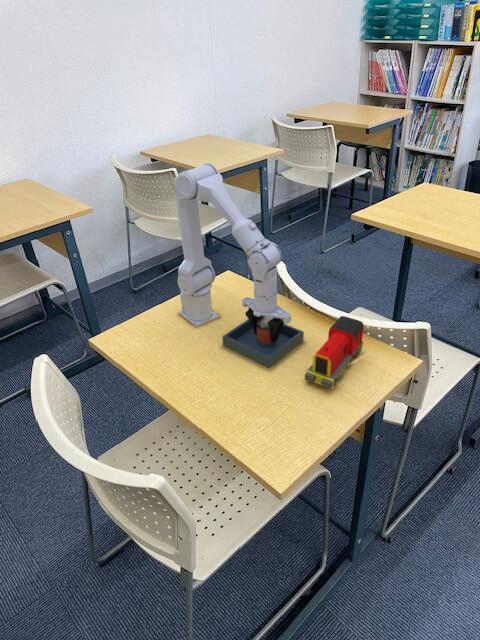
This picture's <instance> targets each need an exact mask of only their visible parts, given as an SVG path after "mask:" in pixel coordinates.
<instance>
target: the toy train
mask: <svg viewBox="0 0 480 640" xmlns="http://www.w3.org/2000/svg"><path fill="white" fill-rule="evenodd" d="M363 335H364V322H363V321H361V320H359V319H357V318H356V319H355V318H352V317H348V316H344V315H341V316H339V318H338V319H337V320H336V321H335V322H334V323H333V324H332V325H331V326H330V328H329V329H328V337H327V340H326V341H325V342H324V344H323V345H322V346H321V347H320V348H319V349H318V351H316V353H315V354H314V355H313V356H312V364H311V365H310V367H308V369H307V370H306V371H305V374H304V381H307V382H308V383H312V384H317V385H319V386H321V387H323V388H325V389H328V390H333V389H334V388H335V387H336V385H337V379H339V378H340V377H341V375H342V373H344V371H345V370H346V368H347V367H348V365H349V364H350V363H351V360H352V359H353V357H355V358H358V356H359V355H360V352H362V351H363V347H364V340H363Z"/></svg>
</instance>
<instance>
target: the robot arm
mask: <svg viewBox="0 0 480 640" xmlns="http://www.w3.org/2000/svg"><path fill="white" fill-rule="evenodd" d="M173 181H174V183H173V184H174V189H175V191H174V192H175V194H174V195H175V196H174V197H175V205H176V210H177V219H178V225H179V232H180V238H181V246H182V253H183V258H184V259H183V261H182V263H181V264H180V266H179V268H178V269H177V272H178V276H177V287H178V288H179V290H180V293H179V296H180V297H179V298H180V304H181V305H180V306H181V311H179V315H181V316H182V317H183V318H184V319H186V320H187V321H188V322H190V323H191V324H192V325H194V326H199V325H201V324H204V323H206V322H208V321H210V320H213V319H216V318H218V317H219V314H218V313H216V312H215V311H213V303H212V292H211V289H212V287H213V283H214V282H215V280H216V273H215V270H214V267H213V266H212V260H210V259H209V258H207V257H206V256H205V251H204V242H203V234H202V227H201V218H200V211H199V202H203V203H211V204H212V206H213V207H214V208H215V209H216V210H217V211H218V212H219V214H220V215H221V216H222V217H223V218H224V219H225V220H226V221H227V223H228V224H229V225H230V227H231V235H232V236H233V238H234V239H235V240H236V242H237V243H238V244H239V247H240V248H241V249H242V250H243V251H244V253H245V254H246V255H247V257H248V259H247V264H248V267H249V269H250V271H251V276H252V277H253V298H252V297H248V296H245V297H244V298H243V299H241V307H243V308H247V311H245V313H244V314H245V316H246V318H247V320H248V319H249V321H250V322H251V324H252V327H253V330H254V333H255V335H257V318H258V317H260V316H268V317H273V319H271V320H270V321H269V322H268V325H269V328H270V332H271V342H273V343H274V342H276V341H277V340H278V338H279V334H280V331H281V329H282V327H283V325H284V324H286V325H289V323H291V322H292V313H289V312H287V311H285V310H284V309H283V308H282V307H281V306H279V305H278V265H279V264H280V263H281V262H282V259H283V254H282V251H281V249H280V247H279V246H278V245H277V244H276V243H275V242H272V241H270V240H269V239H267V238H265V236H264V235H263V233H262V232H261V231H260V229H259V228H258V227H257V224H256V223H255V222H253V221H252V219H250V218H245V217H244V216H243V215H242V213H241V211H240V210H239V208H238V206H237V205H236V204H235V202H234V200H233V199H232V197H231V196H230V194H229V193H228V192H227V190H226V188H225V186H224V178H223V176H222V174H221V173H220V172H219V170H218V168H217V167H216V166H215V165H214V164H213V163H210V162H205V163H203V164H202V165H200V166H197V167H194V168H191V169H188V170H185V171H181V172H179V173H178V174H177V175H176V177H174V178H173Z"/></svg>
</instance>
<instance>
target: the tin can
mask: <svg viewBox="0 0 480 640" xmlns="http://www.w3.org/2000/svg"><path fill="white" fill-rule="evenodd" d="M271 319H273V317H268V316H260V317H258V318H257V344H258V345H259V346H260V347H263V348H270V347H273V346H274V345H275V344H276V342H274V343H273V342H271V332H270V328H269V325H268V322H269V321H270V320H271Z"/></svg>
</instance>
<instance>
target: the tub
mask: <svg viewBox="0 0 480 640" xmlns="http://www.w3.org/2000/svg"><path fill="white" fill-rule="evenodd" d="M304 333H305V332H304V331H303V330H301V329H298V328H295V327H294V326H291V325H289V324H284V325H283V327H282V329H281V331H280V334H279V338H278V340H277V341H276V344H275V345H274V346H273V347H270V348H263V347H260V346H259V345H258V344H257V335H255V333H254V330H253V327H252V324H251V322H250V321H249V319H248V318H247V319H246V320H245V321H243V322H242V323H239V324H238V325H237V326H235V327H234V328H233V329H231V330H229V331H227V332H226V333H225V334H223V335H222V346H223V347H224V348H226V349H229V350H231V351H233V352H234V353H238V354H239V355H241V356H243V357H245V358H247V359H249V360H252V361H254V362H255V363H257V364H260V365H261V366H263V367H266V368H267V369H270V368H272V367H274V366H275V364H277V363H278V362H279V361H280V360H282V359H283V358H284V357H286V356H287V355H288V354H289V353H291V352H292V351H293V350H295V349H296V348H297V347H298V346H300V344H303V343H304V335H305V334H304Z"/></svg>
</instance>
